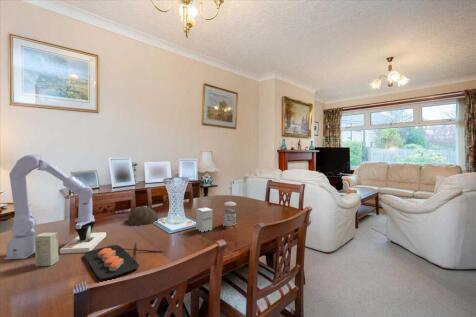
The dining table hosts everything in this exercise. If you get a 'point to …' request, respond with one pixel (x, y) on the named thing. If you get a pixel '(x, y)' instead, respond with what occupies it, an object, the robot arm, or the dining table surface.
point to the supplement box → (204, 219)
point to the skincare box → (46, 249)
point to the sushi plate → (112, 261)
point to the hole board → (83, 244)
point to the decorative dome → (142, 216)
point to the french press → (231, 211)
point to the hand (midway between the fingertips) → (85, 238)
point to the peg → (88, 235)
